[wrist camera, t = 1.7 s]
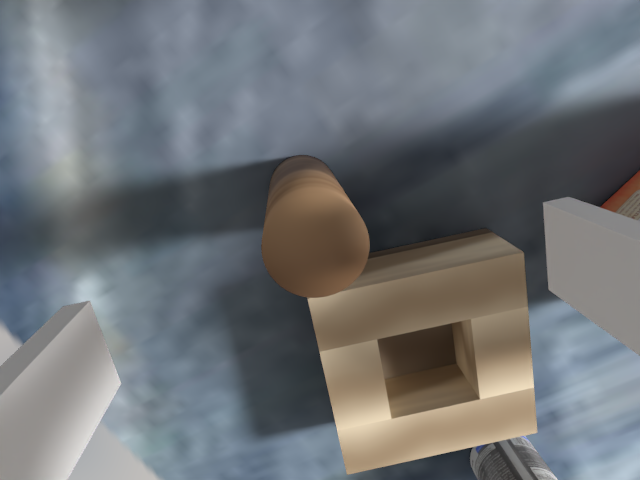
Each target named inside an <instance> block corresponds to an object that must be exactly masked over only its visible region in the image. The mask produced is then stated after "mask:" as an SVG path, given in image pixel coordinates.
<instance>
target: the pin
mask: <svg viewBox="0 0 640 480" xmlns="http://www.w3.org/2000/svg"><path fill="white" fill-rule="evenodd" d="M261 248H262V257H263V261H264V264H265V267H266V269H267V271H268V273H269V274H270V276H271V277H272V278H273V279H274V281H275V282H276V283H277V284H279V285H280V286H281V287H282V288H284V289H285V290H287V291H289V292H291V293H293V294H296V295H299V296H303V297H309V298H320V297H327V296H330V295H334V294H336V293H338V292H340V291H342V290H344V289H346V288H347V287H348V286H350V285H351V284H352V283H353V282H354V281H355V280H356V279H357V278H358V277H359V275H360V274H361V272H362V271H363V269H364V267H365V265H366V263H367V259H368V256H369V249H370V241H369V235H368V231H367V228H366V225H365V223H364V221H363V219H362V218H361V216H360V215H359V213H358V212H357V210H356V209H355V207H354V206H353V204H352V202H351V201H350V199H349V198H348V196H347V195H346V193H345V192H344V190H343V189H342V187H341V186H340V184H339V183H338V181H337V180H336V178H335V176H334V175H333V173H332V172H331V170H330V169H329V168H328V166H327V165H326V164H325V163H323V162H322V161H321V160H319V159H317V158H315V157H312V156H308V155H297V156H293V157H290V158H288V159H286V160H284V161H283V162H282V163H280V164H279V166H278V167H277V168H276V169H275V171H274V172H273V174H272V177H271V181H270V186H269V194H268V201H267V208H266V215H265V222H264V229H263V236H262V245H261Z"/></svg>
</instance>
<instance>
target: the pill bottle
mask: <svg viewBox="0 0 640 480" xmlns="http://www.w3.org/2000/svg"><path fill="white" fill-rule="evenodd" d="M470 463H471V467H472V469H473V472H474V474H475V475H476V477H477V479H478V480H557V478H556V477H555V476H554V474H553V473H552V472H551V470H550V469H549V467H548V466H547V465H546V463H545V462H544V461H543V459H542V458H541V457H540V455H539V454H538V452H537V451H536V449H535V448H534V447H533V446H532V444H531V443H530V441H529V440H528V439H527V438H526V437H525V436H520V437H516V438H511V439H507V440H502V441H498V442H493V443H489V444H484V445H480V446H475V447H473V448H472V450H471V454H470Z"/></svg>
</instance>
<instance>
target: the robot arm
mask: <svg viewBox="0 0 640 480" xmlns="http://www.w3.org/2000/svg"><path fill="white" fill-rule="evenodd" d="M543 211H544V227H545V243H546V258H547V274H548V290H550V291H551V292H552V293H554V294H555V295H556V296H558V297H559V298H561V299H562V300H563V301H565V302H566V303H567V304H569V305H570V306H572V307H573V308H574V309H576V310H577V311H579V312H580V313H581V314H583V315H584V316H585V317H587V318H588V319H590V320H591V321H592V322H594V323H595V324H597V325H598V326H599V327H601V328H602V329H603V330H605V331H606V332H608V333H609V334H610V335H612V336H613V337H615V338H616V339H617V340H619V341H620V342H621V343H623V344H624V345H626V346H627V347H628V348H630V349H631V350H632V351H634V352H635V353H637V354H638V355H639V356H640V221H638V220H635V219H632V218H629V217H626V216H623V215H620V214H618V213H615V212H612V211H609V210H606V209H603V208H600V207H597V206H594V205H592V204H589V203H586V202H583V201H580V200H577V199H574V198H571V197H565V198H561V199H556V200H551V201H547V202H543ZM120 385H121V382H120V379H119V376H118V374H117V371H116V368H115V366H114V363H113V361H112V358H111V355H110V353H109V350H108V347H107V345H106V342H105V339H104V337H103V334H102V331H101V329H100V326H99V324H98V321H97V318H96V316H95V313H94V310H93V308H92V305H91V302H90V301H86V302H81V303H77V304H72V305H67V306H63V307H62V308H61V309H60V310H59V311H58V312H57V313H56V314H55V315H54V316H52V317H51V318H50V319H49V320H48V321H47V322H46V323H45V324H44V325H43V326H42V327H41V328H40V329H39V330H38V331H37V332H36V333H35V334H34V335H33V336H32V337H31V338H29V339H28V340H27V341H26V342H25V343H24V344H23V345H22V346H21V347H20V348H19V349H18V350H17V351H16V352H15V353H14V354H13V355H12V356H11V357H10V358H9V359H8V360H7V361H5V362H4V363H3V365H1V366H0V480H67V479H68V478H69V476H70V474H71V472H72V471H73V469H74V467H75V465H76V463H77V462H78V460H79V458H80V456H81V455H82V453H83V451H84V449H85V447H86V446H87V444H88V442H89V440H90V438H91V437H92V435H93V433H94V431H95V430H96V428H97V426H98V424H99V422H100V421H101V419H102V417H103V415H104V414H105V412H106V410H107V408H108V406H109V405H110V403H111V401H112V399H113V397H114V396H115V394H116V392H117V390H118V389H119V387H120Z"/></svg>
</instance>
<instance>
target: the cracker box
mask: <svg viewBox="0 0 640 480" xmlns="http://www.w3.org/2000/svg"><path fill="white" fill-rule="evenodd" d="M600 208H603V209H606V210H609V211H612V212H615V213H618V214H620V215H623V216H626V217H629V218H632V219H635V220H638V221H640V170H639V171H638V172H637V173H636V174H635V175H634V176H633V177H632V178H631V179H630V180H629V181H628V182H627V183H625V184H624V185H623V186H622V187H621V188H620V189H619V190H618V191H617V192H616V193H615V194H614V195H612V196H611V197H610V198H609V199H608V200H607V201H606V202H605V203H604V204H603V205H602V206H601V207H600Z"/></svg>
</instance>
